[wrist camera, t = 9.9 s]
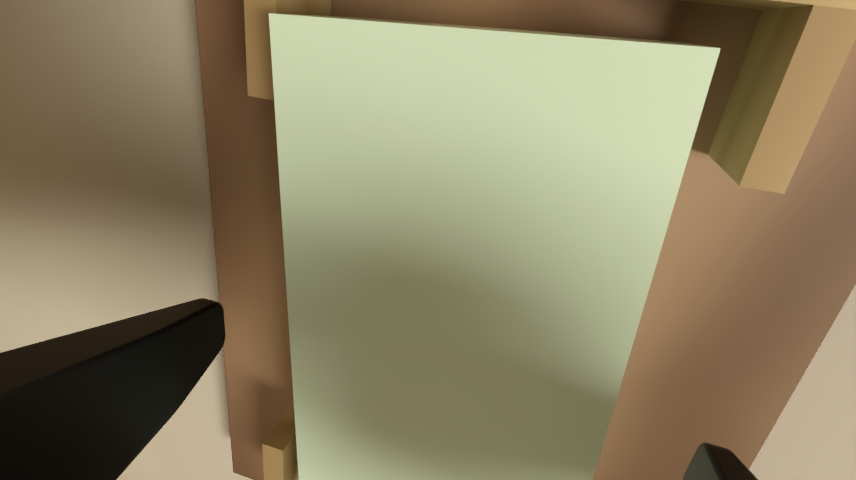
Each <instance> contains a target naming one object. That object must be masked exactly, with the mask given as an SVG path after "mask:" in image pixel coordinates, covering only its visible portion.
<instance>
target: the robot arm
mask: <svg viewBox="0 0 856 480" xmlns="http://www.w3.org/2000/svg"><path fill="white" fill-rule="evenodd" d="M225 336H226V335H225V321H224V310H223V307H222V305H221V304H220V303H218V302H215V301H212V300H208V299H204V298H201V299H197V300H193V301H189V302H186V303H182V304H178V305H175V306H171V307H167V308H164V309H160V310H156V311H153V312H149V313H145V314H142V315H138V316H134V317H131V318H127V319H123V320H119V321H116V322H112V323H108V324H105V325H101V326H97V327H94V328H90V329H86V330H83V331H79V332H75V333H72V334H68V335H64V336H61V337H57V338H53V339H50V340H46V341H42V342H39V343H35V344H31V345H28V346H24V347H20V348H17V349H13V350H9V351H6V352H2V353H0V480H116V479H117V478H118V477H119V476H120V475H121V474H122V473H123V471H124V470H125V469H126V468H127V467H128V466H129V465H130V463H131V462H132V461H133V460H134V459H135V458H136V457H137V455H138V454H139V453H140V452H141V451H142V450H143V449H144V447H145V446H146V445H147V444H148V443H149V442H150V441H151V439H152V438H153V437H154V436H155V435H156V434H157V433H158V431H159V430H160V429H161V428H162V427H163V426H164V425H165V424H166V422H167V421H168V420H169V419H170V418H171V416H172V415H173V414H174V413H175V412H176V410H177V409H178V408H179V407H180V405H181V404H182V403H183V401H184V400H185V399H186V397H187V396H188V395H189V393H190V392H191V390H192V389H193V388H194V386H195V385H196V383H197V382H198V381H199V379H200V378H201V376H202V375H203V374H204V372H205V371H206V370H207V368H208V367H209V365H210V364H211V363H212V361H213V360H214V358H215V357H216V356H217V354H218V353H219V351H220V350H221V349H222V347H223V345H224V342H225ZM682 480H758V479H757V478H756V477H755V476H754V475H753V474H752V472H751V471H750V470H749V469H748V468H747V467H746V466H745V465H744V464H743V463H742V462H741V460H740V459H739V458H738V457H737V456H736V455H735V454H734V453H733V452H732V451H731V450H729V449H727V448H724V447H721V446H717V445H714V444H710V443H706V442H705V443H701V444H700V445H699V446H698V448H697V449H696V451H695V453H694V455H693V458H692V460H691V462H690V464H689V466H688V468H687V470H686V472H685V474H684V476H683V479H682Z"/></svg>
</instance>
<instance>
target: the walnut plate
mask: <svg viewBox="0 0 856 480" xmlns="http://www.w3.org/2000/svg"><path fill="white" fill-rule="evenodd" d="M195 2H196V14H197V26H198V39H199V51H200V64H201V76H202V89H203V101H204V113H205V126H206V138H207V151H208V163H209V176H210V188H211V200H212V213H213V225H214V238H215V250H216V263H217V275H218V287H219V300H220V304H221V305H222V307H223V310H224V321H225V335H226V336H225V342H224V345H223V349H224V362H225V374H226V387H227V399H228V412H229V424H230V436H231V449H232V461H233V472H234V473H237V474H240V475H242V476H245V477H248V478H251V479H253V480H299V477H298V461H297V446H296V430H295V415H294V399H293V384H292V368H291V353H290V338H289V322H288V307H287V291H286V276H285V260H284V245H283V229H282V214H281V198H280V183H279V167H278V152H277V136H276V121H275V105H274V90H273V74H272V59H271V43H270V28H269V13H275V14H297V15H318V16H340V17H359V18H372V19H385V20H398V21H411V22H425V23H438V24H451V25H464V26H477V27H490V28H504V29H517V30H530V31H543V32H556V33H569V34H583V35H596V36H609V37H622V38H635V39H648V40H661V41H675V42H682V43H689V44H696V45H703V46H709V47H716V48H721V49H720V53H719V56H718V59H717V63H716V66H715V69H714V73H713V76H712V80H711V83H710V86H709V90H708V93H707V96H706V100H705V103H704V106H703V110H702V113H701V117H700V120H699V123H698V127H697V130H696V133H695V137H694V140H693V144H692V147H691V150H690V154H689V157H688V160H687V164H686V167H685V170H684V174H683V177H682V181H681V184H680V187H679V191H678V194H677V197H676V201H675V204H674V208H673V211H672V214H671V218H670V221H669V224H668V228H667V231H666V235H665V238H664V241H663V245H662V248H661V251H660V255H659V258H658V261H657V265H656V268H655V272H654V275H653V278H652V282H651V285H650V288H649V292H648V295H647V299H646V302H645V305H644V309H643V312H642V315H641V319H640V322H639V325H638V329H637V332H636V336H635V339H634V342H633V346H632V349H631V352H630V356H629V359H628V363H627V366H626V369H625V373H624V376H623V379H622V383H621V386H620V389H619V393H618V396H617V400H616V403H615V406H614V410H613V413H612V416H611V420H610V423H609V427H608V430H607V433H606V437H605V440H604V443H603V447H602V450H601V453H600V457H599V460H598V464H597V467H596V470H595V474H594V477H593V480H682V479H683V476H684V474H685V472H686V470H687V468H688V466H689V464H690V462H691V460H692V458H693V455H694V453H695V451H696V449H697V448H698V446H699V445H700V444H701V443H705V442H706V443H710V444H714V445H717V446H721V447H724V448H727V449H729V450H731V451H732V452H733V453H734V454H735V455H736V456H737V457H738V458H739V459H740V460H741V462H742V463H743V464H744V465H745V466H746V467H747V468H748V469H749V468H750V466H751V464H752V463H753V461H754V459H755V458H756V456H757V454H758V452H759V451H760V449H761V447H762V445H763V444H764V442H765V440H766V438H767V437H768V435H769V433H770V432H771V430H772V428H773V426H774V425H775V423H776V421H777V419H778V418H779V416H780V414H781V412H782V411H783V409H784V407H785V406H786V404H787V402H788V400H789V399H790V397H791V395H792V393H793V392H794V390H795V388H796V386H797V385H798V383H799V381H800V380H801V378H802V376H803V374H804V373H805V371H806V369H807V367H808V366H809V364H810V362H811V360H812V359H813V357H814V355H815V354H816V352H817V350H818V348H819V347H820V345H821V343H822V341H823V340H824V338H825V336H826V334H827V333H828V331H829V329H830V327H831V326H832V324H833V322H834V321H835V319H836V317H837V315H838V314H839V312H840V310H841V308H842V307H843V305H844V303H845V301H846V300H847V298H848V296H849V295H850V293H851V291H852V289H853V288H854V286H855V284H856V0H195Z"/></svg>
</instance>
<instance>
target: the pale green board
mask: <svg viewBox="0 0 856 480" xmlns="http://www.w3.org/2000/svg"><path fill="white" fill-rule="evenodd" d="M269 28H270V43H271V59H272V74H273V90H274V105H275V121H276V136H277V152H278V167H279V183H280V198H281V214H282V229H283V245H284V260H285V276H286V291H287V307H288V322H289V338H290V353H291V368H292V384H293V399H294V415H295V430H296V446H297V461H298V477H299V480H593V477H594V474H595V470H596V467H597V464H598V460H599V457H600V453H601V450H602V447H603V443H604V440H605V437H606V433H607V430H608V427H609V423H610V420H611V416H612V413H613V410H614V406H615V403H616V400H617V396H618V393H619V389H620V386H621V383H622V379H623V376H624V373H625V369H626V366H627V363H628V359H629V356H630V352H631V349H632V346H633V342H634V339H635V336H636V332H637V329H638V325H639V322H640V319H641V315H642V312H643V309H644V305H645V302H646V299H647V295H648V292H649V288H650V285H651V282H652V278H653V275H654V272H655V268H656V265H657V261H658V258H659V255H660V251H661V248H662V245H663V241H664V238H665V235H666V231H667V228H668V224H669V221H670V218H671V214H672V211H673V208H674V204H675V201H676V197H677V194H678V191H679V187H680V184H681V181H682V177H683V174H684V170H685V167H686V164H687V160H688V157H689V154H690V150H691V147H692V144H693V140H694V137H695V133H696V130H697V127H698V123H699V120H700V117H701V113H702V110H703V106H704V103H705V100H706V96H707V93H708V90H709V86H710V83H711V80H712V76H713V73H714V69H715V66H716V63H717V59H718V56H719V53H720V49H721V48H716V47H709V46H703V45H696V44H689V43H682V42H675V41H661V40H648V39H635V38H622V37H609V36H596V35H583V34H569V33H556V32H543V31H530V30H517V29H504V28H490V27H477V26H464V25H451V24H438V23H425V22H411V21H398V20H385V19H372V18H359V17H340V16H318V15H297V14H275V13H269Z"/></svg>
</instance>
